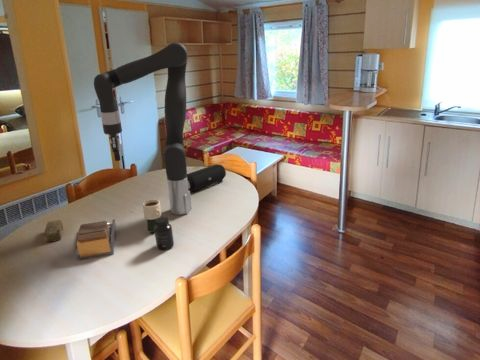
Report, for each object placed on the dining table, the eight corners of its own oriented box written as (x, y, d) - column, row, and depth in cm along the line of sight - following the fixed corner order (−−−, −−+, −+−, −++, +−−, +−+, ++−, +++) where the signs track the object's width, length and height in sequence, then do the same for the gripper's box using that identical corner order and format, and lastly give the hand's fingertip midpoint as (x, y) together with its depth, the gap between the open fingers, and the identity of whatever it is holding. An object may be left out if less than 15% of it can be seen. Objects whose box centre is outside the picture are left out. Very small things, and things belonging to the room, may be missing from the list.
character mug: (169, 230, 148) (165, 203, 143) (155, 237, 144) (151, 209, 139) (154, 222, 155) (151, 196, 150) (140, 228, 151) (136, 202, 146)
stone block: (46, 243, 142) (43, 233, 140) (49, 230, 152) (46, 220, 150) (61, 240, 144) (59, 230, 142) (64, 228, 153) (61, 218, 152)
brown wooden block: (83, 238, 138) (79, 224, 135) (109, 234, 140) (106, 220, 138) (80, 249, 131) (77, 234, 128) (108, 244, 133) (105, 230, 131)
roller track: (84, 229, 151) (81, 215, 148) (116, 224, 154) (113, 210, 152) (77, 260, 130) (73, 244, 127) (113, 254, 133) (110, 238, 130)
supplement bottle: (157, 242, 140) (154, 216, 136) (174, 240, 141) (171, 214, 136) (155, 251, 134) (151, 224, 129) (173, 250, 134) (170, 223, 130)
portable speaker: (192, 195, 182) (190, 177, 178) (181, 190, 188) (179, 173, 185) (227, 181, 199) (226, 165, 195) (215, 177, 205) (214, 161, 201)
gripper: (120, 124, 142) (126, 164, 149) (121, 118, 154) (126, 155, 160) (100, 126, 140) (108, 166, 147) (103, 119, 152) (109, 156, 159)
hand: (117, 160), depth 154 cm, fingers closed
